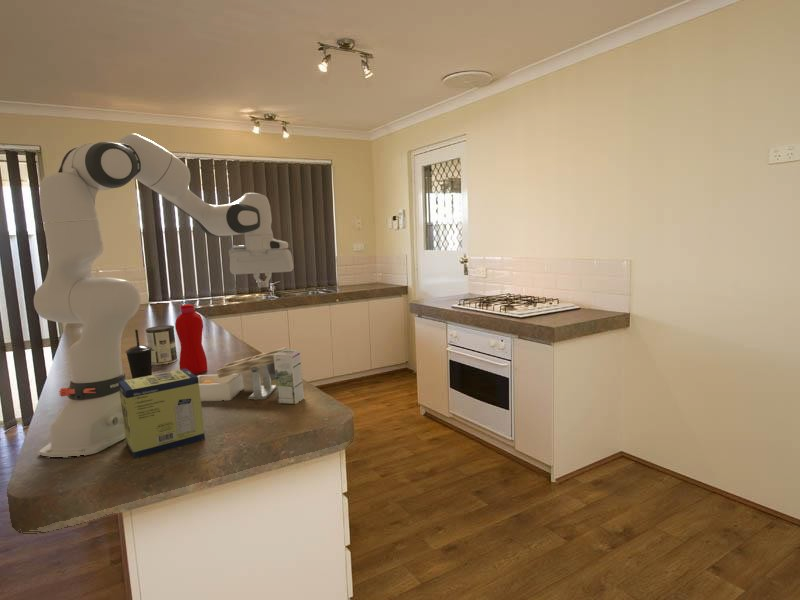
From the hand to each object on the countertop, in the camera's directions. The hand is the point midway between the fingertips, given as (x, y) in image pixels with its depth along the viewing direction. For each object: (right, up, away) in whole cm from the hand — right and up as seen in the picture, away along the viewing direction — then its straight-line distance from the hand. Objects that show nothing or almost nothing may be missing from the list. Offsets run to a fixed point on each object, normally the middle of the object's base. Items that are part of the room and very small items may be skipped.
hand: (263, 287), depth 162 cm
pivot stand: (+3, -33, -11) cm, 35 cm away
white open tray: (-12, -33, -10) cm, 37 cm away
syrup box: (+13, -33, -20) cm, 41 cm away
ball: (-14, -31, -11) cm, 36 cm away
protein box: (-11, -38, -45) cm, 60 cm away
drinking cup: (-39, -34, -1) cm, 51 cm away
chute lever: (+2, -29, -8) cm, 30 cm away
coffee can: (-51, -29, +38) cm, 70 cm away
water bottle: (-30, -31, +19) cm, 47 cm away
